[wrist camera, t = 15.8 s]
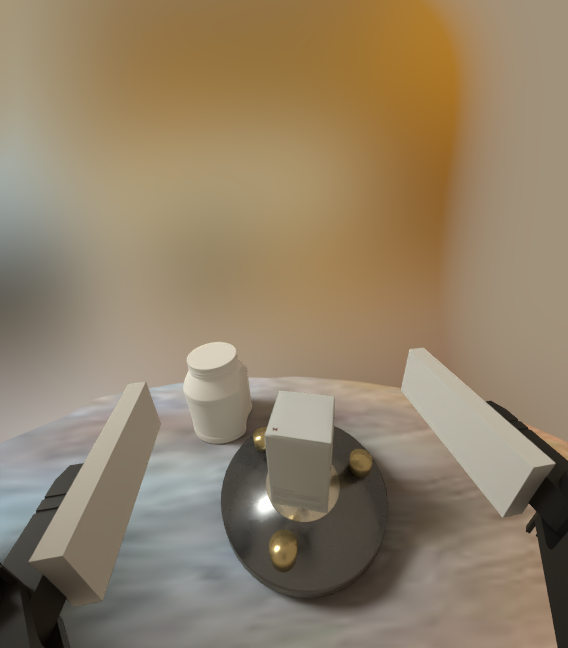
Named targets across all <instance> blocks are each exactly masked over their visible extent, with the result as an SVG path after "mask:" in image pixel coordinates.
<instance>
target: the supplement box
mask: <svg viewBox="0 0 568 648" xmlns="http://www.w3.org/2000/svg"><path fill="white" fill-rule="evenodd" d="M334 401H335V398H334V396H328V395H319V394H309V393H299V392H290V391H282V390H280V391H279V392H278V395H277V399H276V402H275V405H274V408H273V410H272V413H271V417H270V420H269V423H268V426H267V429H266V432H265V435H264V436H265V446H266V455H267V465H268V474H269V484H270V494H271V502H273V503H277V504H282V505H287V506H291V507H297V508H301V509H306V510H311V511H316V512H321V513H327V512H328V501H329V489H330V476H331V464H332V449H333V434H334Z"/></svg>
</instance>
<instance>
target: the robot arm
mask: <svg viewBox="0 0 568 648" xmlns="http://www.w3.org/2000/svg"><path fill="white" fill-rule="evenodd" d="M401 391H402V392H403V393H404V395H405V396H406V397H407V398H408V400H409V401H410V402H411V403H412V405H413V406H414V407H415V408H416V410H417V411H418V412H419V413H420V415H421V416H422V417H423V418H424V420H425V421H426V422H427V423H428V425H429V426H430V427H431V428H432V430H433V431H434V432H435V433H436V435H437V436H438V437H439V438H440V440H441V441H442V442H443V443H444V445H445V446H446V447H447V449H448V450H449V451H450V452H451V454H452V455H453V456H454V457H455V459H456V460H457V461H458V462H459V464H460V465H461V466H462V467H463V469H464V470H465V471H466V472H467V474H468V475H469V476H470V477H471V479H472V480H473V481H474V482H475V484H476V485H477V486H478V487H479V489H480V490H481V491H482V492H483V494H484V495H485V496H486V497H487V499H488V500H489V501H490V502H491V504H492V505H493V506H494V507H495V509H496V510H497V511H498V513H499V514H500V515H501V516H502V518H503V517H508V516H513V515H517V514H522V513H523V511H524V510H525V508H526V507H527V505H528V504H530V505H531V506H532V507H533V508H534V509H535V510H536V513H535V515H534V516H533V517H532V519H531V520H530V522H529V523H528V524H527V526H526V532H528V533H531V531H532V530H533V529H534V527H535V526H536V531H537V534H536V536H537V537H538V542H539V548H540V553H541V559H542V564H543V570H544V575H545V581H546V586H547V592H548V597H549V602H550V608H551V613H552V619H553V624H554V630H555V635H556V641H557V646H558V648H568V460H566V459H565V458H564V457H563V456H562V455H560V454H559V453H558V452H557V451H556V450H554V449H553V448H552V447H551V446H550V445H548V444H547V443H546V442H545V441H544V440H542V439H541V438H540V437H539V436H538V435H536V434H535V433H534V432H533V431H532V430H529V429H528V427H527V426H526V425H524V424H523V423H522V422H521V421H518V419H517V418H516V417H515V416H514V415H512V414H511V413H510V412H509V411H508V410H506V409H505V408H503V407H501V406H499V405H497V404H496V403H494V402H492V401H486V402H485V401H483V400H482V399H481V398H480V397H479V396H478V395H477V394H476V393H475V392H474V391H472V390H471V389H470V388H469V387H468V386H467V385H465V384H464V383H463V382H462V381H461V380H460V379H459V378H457V377H456V376H455V375H454V374H453V373H452V372H451V371H449V370H448V369H447V368H446V367H445V366H444V365H443V364H441V363H440V362H439V361H438V360H437V359H436V358H434V357H433V356H432V355H431V354H430V353H429V352H428V351H426V350H425V349H424V348H417V349H410V350H409V355H408V359H407V364H406V369H405V373H404V378H403V383H402V388H401ZM160 425H161V423H160V420H159V417H158V414H157V411H156V409H155V406H154V403H153V400H152V397H151V395H150V392H149V389H148V386H147V383H146V382H139V383H130V384H128V385H127V387H126V389H125V391H124V393H123V394H122V396H121V398H120V400H119V402H118V403H117V405H116V407H115V409H114V410H113V412H112V414H111V416H110V418H109V419H108V421H107V423H106V425H105V426H104V428H103V430H102V432H101V434H100V435H99V437H98V439H97V441H96V442H95V444H94V446H93V448H92V450H91V451H90V453H89V455H88V457H87V458H86V460H85V462H84V463H82V464H76V465H70V466H69V467H68V468H67V469H66V470H65V471H64V472H63V473H62V474H61V475H60V476H59V477H58V478H57V479H56V480H55V481H54V483H53V484H52V486H51V488H50V489H49V491H48V492H47V494H46V496H45V499H44V500H42V502H41V504H40V505H39V507H38V508H37V510H36V514H34V515H33V516H32V518H31V519H30V521H29V523H28V524H27V526H26V527H25V529H24V531H23V532H22V534H21V535H20V537H19V539H18V540H17V542H16V543H15V545H14V547H13V548H12V550H11V551H10V553H9V555H8V556H7V558H6V559H5V561H4V563H3V564H1V563H0V648H70V646H69V642H68V638H67V635H66V631H65V627H64V624H63V620H62V619H61V617H60V616H59V615H60V612H61V610H62V608H63V605H64V603H65V600H66V599H67V600H68V601H69V602H70V603H71V604H72V605H73V606H74V607H76V606H80V605H85V604H90V603H95V602H100V601H103V598H104V595H105V592H106V589H107V586H108V583H109V580H110V577H111V574H112V571H113V568H114V565H115V562H116V558H117V555H118V552H119V549H120V546H121V543H122V540H123V537H124V534H125V531H126V528H127V525H128V522H129V519H130V516H131V513H132V510H133V507H134V504H135V501H136V498H137V495H138V492H139V489H140V486H141V483H142V480H143V477H144V474H145V471H146V468H147V464H148V461H149V458H150V455H151V452H152V449H153V446H154V443H155V440H156V437H157V434H158V431H159V428H160Z"/></svg>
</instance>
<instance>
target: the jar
mask: <svg viewBox="0 0 568 648" xmlns="http://www.w3.org/2000/svg"><path fill="white" fill-rule="evenodd" d="M187 365H188V368H189V371H188V373H187V376H186V379H185V381H184V386H183V391H184V394H185V396H186V399H187V403H188V406H189V410H190V413H191V417H192V420H193V424H194V430H195V432H196V434H197V436H198V437H199V438H200V439H202V440H203V441H205V442H208V443H212V444H223V443H228V442H231V441H234V440H236V439H238V438H240V437H241V436H242V435H244V434H245V433H246V429H247V427H246V422H247V418H248V416H249V414H250V412H251V410H252V402H251V396H250V389H249V382H248V374H247V372H248V371H247V367H246V365H244V364H243V363H242V362H241V361H240V360H238V358H237V352H236V349H235V347H234V346H232V345H231V344H228V343H224V342H213V343H208V344H204V345H202V346H199V347H198V348H196V349H194V350H193V351H192V352H191V353H190V354H189V355H188V357H187Z"/></svg>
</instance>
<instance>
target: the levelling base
mask: <svg viewBox="0 0 568 648" xmlns="http://www.w3.org/2000/svg"><path fill="white" fill-rule="evenodd" d="M266 429H267V427H261V428H258V429H257V430H256V431H255V432H254V434H253V436H252V437H251V438H249V439H248V440H247V441H246V442H245V443H244V444H243V445H242V446H241V447H240V449H239V450H238V451H237V452H236V454H235V455H234V457H233V459H232V460H231V462H230V464H229V467H228V469H227V471H226V474H225V477H224V481H223V486H222V492H221V509H222V517H223V521H224V526H225V530H226V533H227V536H228V539H229V542H230V545H231V547H232V549H233V551H234V553H235V554H236V556H237V558H238V559H239V561H240V562H241V563H242V565H243V566H244V568H245V569H246V570H247V571H248V572H249V573H250V574H251V575H252V576H253V577H254V578H256V579H257V580H258V581H260V582H261V583H262V584H264V585H265V586H267V587H269V588H271V589H273V590H275V591H277V592H279V593H282V594H285V595H289V596H293V597H301V598H315V597H322V596H326V595H331V594H333V593H336V592H338V591H340V590H343V589H345V588H346V587H348V586H349V585H351V584H352V583H354V582H355V581H356V580H357V579H358V578H359V577H361V576H362V575H363V574H364V573H365V572H366V570H367V569H368V568H369V566H370V565H371V564H372V562H373V561H374V559H375V557H376V555H377V553H378V551H379V548H380V545H381V543H382V540H383V536H384V532H385V527H386V522H387V513H388V502H387V493H386V488H385V484H384V481H383V478H382V475H381V473H380V471H379V469H378V467H377V465H376V463H375V461H374V460H373V458H372V457H371V455H370V454H369V453H368V451H367V450H366V449H365V448H364V447H363V446H362V445H361V444H360V443H359V442H358V441H357V440H356V439H354V438H353V437H352V436H351V435H349V434H348V433H346V432H344V431H343V430H341V429H339V428H337V427H335V426H334V434H333V449H332V464H331V476H330V489H329V501H328V512H327V513H321V512H316V511H311V510H306V509H301V508H297V507H291V506H287V505H282V504H277V503H273V502H271V494H270V484H269V474H268V465H267V455H266V446H265V436H264V435H265V432H266Z"/></svg>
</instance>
